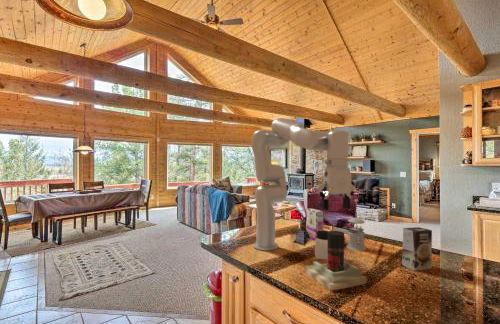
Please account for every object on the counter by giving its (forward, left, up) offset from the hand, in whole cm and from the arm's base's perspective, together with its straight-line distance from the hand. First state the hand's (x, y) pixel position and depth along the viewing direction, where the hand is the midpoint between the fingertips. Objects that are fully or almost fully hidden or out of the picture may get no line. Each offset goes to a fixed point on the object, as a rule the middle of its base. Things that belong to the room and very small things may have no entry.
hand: (335, 209), depth 96 cm
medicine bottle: (-20, +9, -26) cm, 34 cm away
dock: (-1, 0, -26) cm, 26 cm away
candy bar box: (-46, +22, -26) cm, 57 cm away
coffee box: (+2, +40, -26) cm, 48 cm away
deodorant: (0, 0, -24) cm, 24 cm away
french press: (-25, +33, -26) cm, 49 cm away
